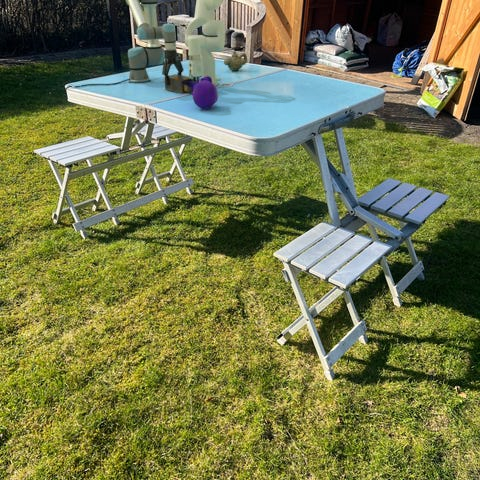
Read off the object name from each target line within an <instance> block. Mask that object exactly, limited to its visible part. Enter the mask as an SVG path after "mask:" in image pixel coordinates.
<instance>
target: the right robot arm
mask: <svg viewBox="0 0 480 480" xmlns="http://www.w3.org/2000/svg"><path fill="white" fill-rule="evenodd" d="M223 2H224V0H195V9H194V15H193V16H194V17H193V19H192V20H191V21H190V22H189V24H188V25H187V27H186V29H185V35H184V44H185V46H186V47H187V48H188V77H190V79H193V81H194V82H199V81H200V79H201V78H204V77H206V76H209V77H211V79H212V83H213V84H214V85H215V86H219V82H220V81H222V78H221V77H217V75H216V59H215V56H214V54H213V53H222V52H224V50H225V43H226V42H225V41H226V24H225V22H224V21H223V20H221V19H216V12H215V11H216V10H218V9H219V8H220V7H221V6H222V4H223ZM200 27H201V30H202V31H201V32H202V34H198V35H197V34H192V33H194V31H195V30H196V29H198V28H200Z"/></svg>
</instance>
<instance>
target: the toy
mask: <svg viewBox="0 0 480 480" xmlns="http://www.w3.org/2000/svg"><path fill="white" fill-rule="evenodd" d="M181 83H183V84H185V85H187V86H189V87H191V88H192V89H194V90H193V92H192V100H193V102H194V104H195V105H196V106H197V107H198V108H201V109H206V110H207V109H210V108H212V107H213V106H214V105H215V104H216V103H217V101H218V99H219V93H218V89H217V87H216V86H217V85H216V86H215V85H214V84H213V83H212V79H211V77H209V76H206V77H204V78H202V77H201V78H200V81H199V82H193V81H182V82H181Z"/></svg>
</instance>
